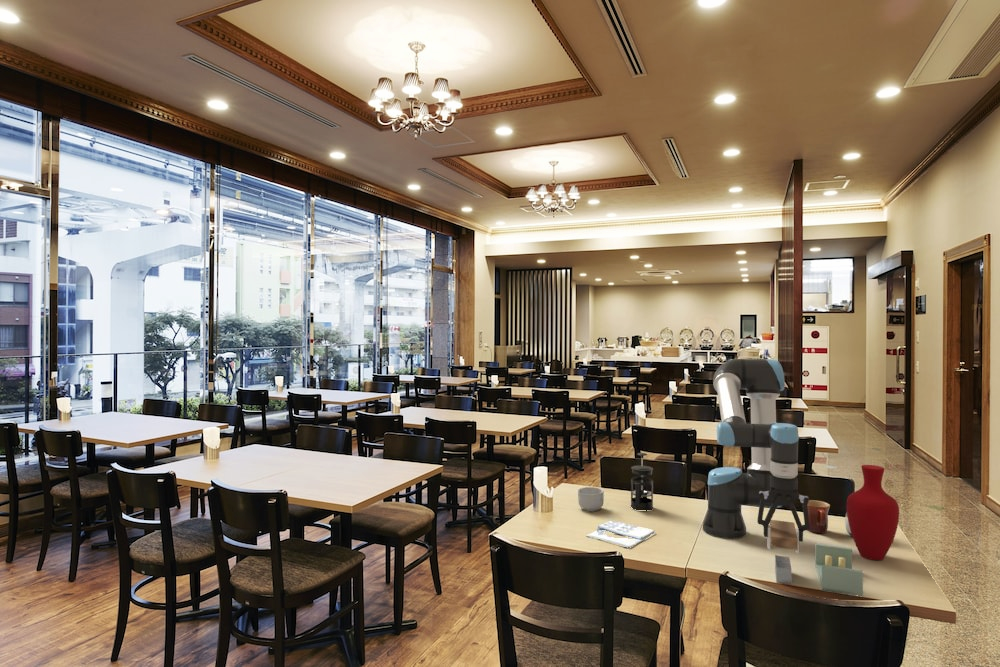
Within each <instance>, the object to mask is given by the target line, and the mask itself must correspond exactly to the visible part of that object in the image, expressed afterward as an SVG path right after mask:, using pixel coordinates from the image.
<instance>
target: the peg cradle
mask: <svg viewBox="0 0 1000 667" xmlns="http://www.w3.org/2000/svg"><path fill="white" fill-rule="evenodd" d="M814 548H815V551H814V552H815V554H814V556H815V558H814V559H815V560H814V562H815V563H814V565H815V569H816V573H817V576H818V580H819V584H820V587H822V588H821V591H822V592H828V593H833V592H835V594H840V593H843V594H842V595H846V594H848V596H853V595H858V596H857V597H859V596H864V595H863V591H864V590H863V586H864V585H863V584H864V583H863V582H864V579H863V577H864V575H863V574H864V572H863V570H862V569H857V568H853V548H852V547H849V546H848V547H847V546H839V545H832V544H826V543H825V544H823V543H817V542H816V543H815V545H814Z"/></svg>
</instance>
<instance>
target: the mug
mask: <svg viewBox="0 0 1000 667" xmlns="http://www.w3.org/2000/svg"><path fill="white" fill-rule="evenodd" d="M807 507H808V516H809V524H810V530H807V531H808V532H810V533H814V534H820V535H821V534H825V533H827V532H828V529H829V516H828V515H829V510H830V507H831V504H829V503H828V502H825V501H821V500H817V499H816V500H814V499H809V502H808V505H807Z"/></svg>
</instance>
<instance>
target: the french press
mask: <svg viewBox="0 0 1000 667" xmlns="http://www.w3.org/2000/svg"><path fill="white" fill-rule="evenodd" d="M636 455H637V456H640V459H641V465H633V466H631V467H630V469H631V470H632V471H631V472H632V474H633V475H636V476H634V477H631V479H630V506H631V507H632V508H633V509H636V510H646V511H645V512H648V511H647V510H652V509H653V510H654V479H653V478H651V477H645V476H651V475H653V471H654V468H653V467H652V466H648V465H643V461H644V460H643V459H644V456H648V454H647V453H645V452H638V453H636ZM634 485H635V490H634V487H633V486H634ZM648 486H651V488H650V489H651V490H650V491H649V490H648ZM633 496H634V497H633ZM650 497H651V498H650ZM631 507H630V508H631ZM633 509H632V510H633ZM636 510H635V511H636ZM653 510H652V511H653Z"/></svg>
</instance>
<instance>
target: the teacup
mask: <svg viewBox="0 0 1000 667" xmlns="http://www.w3.org/2000/svg"><path fill="white" fill-rule="evenodd" d="M604 492H605V491H604V489H602V488H600V487H597V486H596V487H595V486H586V485H585V486H583V487H581V488H579V489H577V501H578V505H579V507H580V508H581V509H582V510H584V511H586V510H588V511H587V512H596V510H597V511H599V510H600V509H601V508H602V507H603V506H604V502H605V501H604V500H605V499H604V497H605V494H604Z"/></svg>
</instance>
